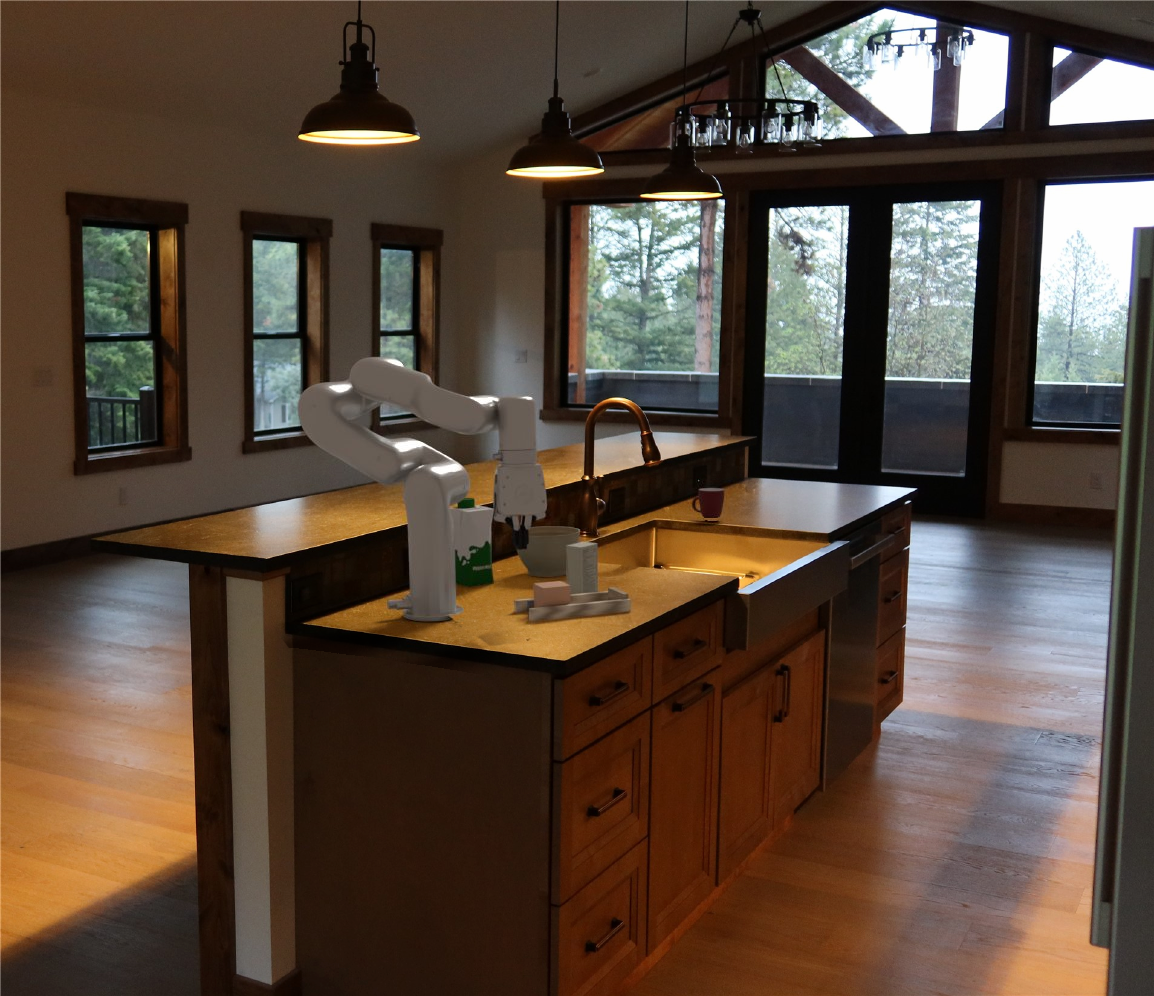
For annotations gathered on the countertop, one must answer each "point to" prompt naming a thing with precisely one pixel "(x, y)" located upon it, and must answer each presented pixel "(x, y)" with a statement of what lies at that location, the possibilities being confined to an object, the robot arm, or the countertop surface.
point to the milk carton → (472, 543)
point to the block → (551, 593)
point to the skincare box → (582, 567)
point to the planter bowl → (548, 550)
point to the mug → (710, 502)
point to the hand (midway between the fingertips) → (520, 548)
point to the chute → (578, 605)
